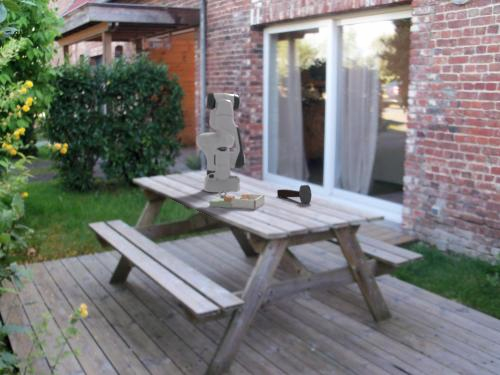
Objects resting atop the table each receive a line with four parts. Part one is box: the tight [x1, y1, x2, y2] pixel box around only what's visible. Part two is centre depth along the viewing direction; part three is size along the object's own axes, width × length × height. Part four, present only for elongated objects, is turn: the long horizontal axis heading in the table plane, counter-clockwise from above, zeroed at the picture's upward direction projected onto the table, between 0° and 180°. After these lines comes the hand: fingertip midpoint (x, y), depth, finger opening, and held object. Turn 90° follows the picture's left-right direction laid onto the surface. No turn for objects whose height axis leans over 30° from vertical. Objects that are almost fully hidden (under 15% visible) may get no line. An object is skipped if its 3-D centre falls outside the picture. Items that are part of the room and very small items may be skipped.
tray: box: [231, 193, 265, 210], centre depth 344 cm, size 18×14×5 cm
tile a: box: [241, 193, 250, 200], centre depth 348 cm, size 5×5×2 cm
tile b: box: [224, 195, 236, 202], centre depth 343 cm, size 5×5×2 cm
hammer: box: [276, 184, 312, 205], centre depth 362 cm, size 5×11×30 cm
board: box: [209, 195, 242, 209], centre depth 348 cm, size 18×14×3 cm
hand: (222, 198), depth 344 cm, fingers closed
